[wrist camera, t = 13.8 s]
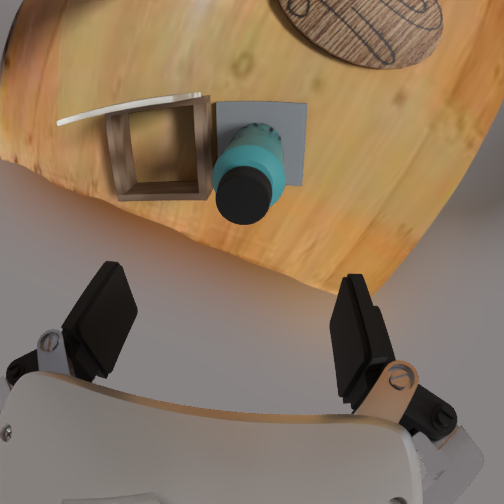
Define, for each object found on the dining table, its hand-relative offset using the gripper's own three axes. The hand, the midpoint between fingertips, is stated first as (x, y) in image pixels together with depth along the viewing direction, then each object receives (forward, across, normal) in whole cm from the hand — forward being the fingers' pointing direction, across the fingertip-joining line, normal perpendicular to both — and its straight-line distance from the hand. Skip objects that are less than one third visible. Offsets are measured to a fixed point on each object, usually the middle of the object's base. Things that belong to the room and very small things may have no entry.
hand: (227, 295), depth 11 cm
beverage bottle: (+29, 0, 0) cm, 29 cm away
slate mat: (+30, 0, 0) cm, 30 cm away
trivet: (+31, -14, -25) cm, 42 cm away
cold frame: (+30, +14, 0) cm, 33 cm away
